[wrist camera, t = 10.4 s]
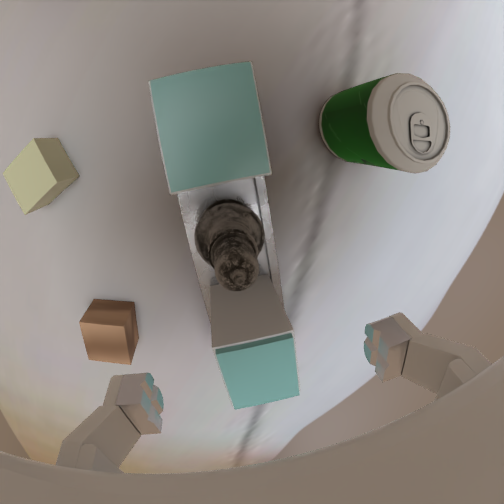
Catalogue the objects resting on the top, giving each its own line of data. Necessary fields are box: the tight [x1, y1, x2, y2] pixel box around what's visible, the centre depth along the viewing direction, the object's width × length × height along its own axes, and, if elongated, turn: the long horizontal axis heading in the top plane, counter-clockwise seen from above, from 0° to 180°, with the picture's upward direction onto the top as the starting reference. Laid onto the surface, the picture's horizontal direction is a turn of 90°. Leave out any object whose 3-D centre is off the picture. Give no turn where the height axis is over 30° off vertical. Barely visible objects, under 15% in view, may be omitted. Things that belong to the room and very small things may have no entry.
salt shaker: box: [194, 199, 265, 291], centre depth 22 cm, size 6×6×12 cm
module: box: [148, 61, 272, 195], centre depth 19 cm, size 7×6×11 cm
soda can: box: [319, 73, 450, 173], centre depth 21 cm, size 8×8×12 cm
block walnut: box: [79, 299, 139, 365], centre depth 28 cm, size 5×5×5 cm
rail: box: [177, 176, 284, 323], centre depth 28 cm, size 26×8×2 cm, turn 10°
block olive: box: [3, 138, 79, 215], centre depth 22 cm, size 5×5×5 cm
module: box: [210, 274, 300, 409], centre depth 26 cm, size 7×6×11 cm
